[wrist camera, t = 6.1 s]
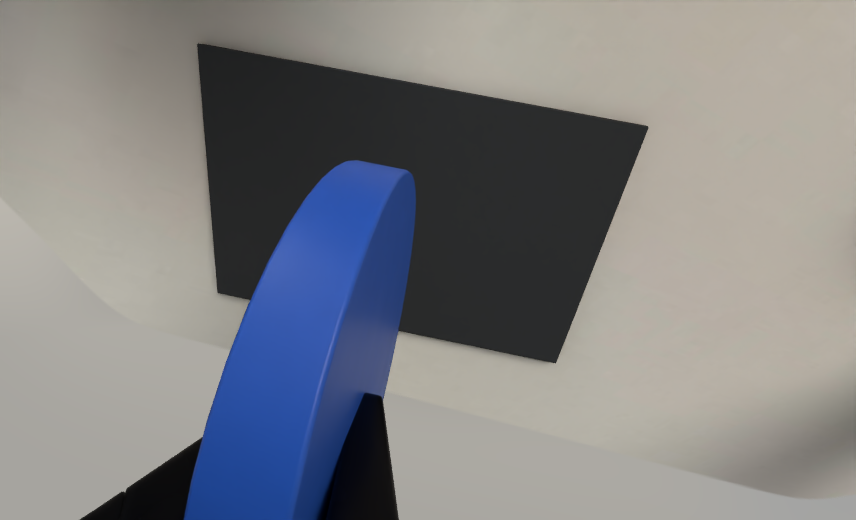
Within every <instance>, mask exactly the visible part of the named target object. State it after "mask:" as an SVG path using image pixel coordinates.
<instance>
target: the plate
mask: <svg viewBox="0 0 856 520" xmlns="http://www.w3.org/2000/svg"><path fill="white" fill-rule="evenodd" d="M415 211H416V190H415V183H414V178H413V176H412V174H411V173H410V172H409V171H407V170H404V169H399V168H394V167H389V166H384V165H379V164H374V163H369V162H364V161H359V160H354V161H346V162H344V163H342V164H340V165H338V166H336V167H334V168H333V169H332V170H331V171H330V172H328V173H327V174H326V175H325V176H324V177H323V178H322V179H321V180H320V181H319V182H318V183H317V185H316V186H315V187H314V188H313V189H312V191H311V192H310V193H309V194H308V195H307V197H306V198H305V200H304V201H303V203H302V204H301V206H300V207H299V209H298V210H297V212H296V213H295V215H294V216H293V218H292V219H291V221H290V222H289V224H288V226H287V227H286V229H285V231H284V233H283V235H282V237H281V239H280V240H279V242H278V244H277V246H276V248H275V250H274V252H273V253H272V255H271V257H270V259H269V261H268V263H267V265H266V267H265V269H264V272H263V274H262V276H261V278H260V280H259V283H258V285H257V287H256V289H255V291H254V293H253V296H252V298H251V300H250V302H249V304H248V307H247V309H246V312H245V314H244V317H243V319H242V322H241V325H240V327H239V330H238V332H237V335H236V338H235V340H234V343H233V345H232V348H231V350H230V353H229V356H228V359H227V361H226V364H225V367H224V371H223V373H222V376H221V380H220V382H219V385H218V388H217V392H216V395H215V398H214V401H213V404H212V407H211V410H210V413H209V416H208V420H207V423H206V427H205V431H204V435H203V438H202V442H201V446H200V450H199V453H198V457H197V461H196V465H195V469H194V472H193V476H192V480H191V485H190V490H189V495H188V500H187V505H186V510H185V515H184V520H326V518H327V513H328V509H329V504H330V500H331V495H332V491H333V486H334V482H335V478H336V473H337V469H338V464H339V460H340V455H341V451H342V447H343V444H344V441H345V439H346V436H347V434H348V431H349V429H350V426H351V424H352V422H353V419H354V417H355V414H356V412H357V410H358V407H359V405H360V402H361V400H362V398H363V395H364V393H371V394H376V395H380V396H381V397H382V399H383V398H384V394H385V390H386V385H387V381H388V376H389V372H390V367H391V363H392V358H393V353H394V349H395V344H396V339H397V334H398V329H399V324H400V319H401V313H402V308H403V302H404V297H405V291H406V285H407V279H408V273H409V266H410V259H411V252H412V244H413V235H414V225H415Z"/></svg>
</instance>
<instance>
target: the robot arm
mask: <svg viewBox="0 0 856 520" xmlns="http://www.w3.org/2000/svg"><path fill="white" fill-rule="evenodd" d="M202 438H203V437H202ZM202 438H201V439H199V440H197V441H196V442H194V443H193V444H192V445H190V446H189V447H187V448H186V449H184V450H183V451H181V452H180V453H179V454H177V455H175V456H174V457H172V458H171V459H170V460H168V461H167V462H165V463H163V464H162V465H161V466H159V467H158V468H156V469H155V470H153V471H152V472H150V473H149V474H147V475H146V476H144V477H143V478H141V479H140V480H138V481H137V482H135V483H134V484H133V485H131V486H130V487H128V488H127V489H126V492H121V493H119V494H118V495H116V496H115V497H113V498H112V499H110V500H109V501H107V502H106V503H104V504H103V505H101V506H100V507H98V508H97V509H95V510H94V511H92V512H91V513H89V514H88V515H86V516H85V517H83V518H81V519H80V520H184V515H185V510H186V505H187V500H188V495H189V490H190V485H191V480H192V476H193V472H194V469H195V465H196V461H197V457H198V453H199V450H200V446H201V442H202ZM326 520H399V518H398V511H397V504H396V495H395V488H394V480H393V473H392V466H391V458H390V451H389V444H388V436H387V428H386V421H385V413H384V407H383V399H382V397H381V396H380V395H376V394H371V393H364V395H363V398H362V400H361V402H360V405H359V407H358V410H357V412H356V414H355V417H354V419H353V422H352V424H351V426H350V429H349V431H348V434H347V436H346V439H345V441H344V444H343V447H342V451H341V455H340V460H339V464H338V469H337V473H336V478H335V482H334V486H333V491H332V495H331V500H330V504H329V509H328V513H327V518H326Z"/></svg>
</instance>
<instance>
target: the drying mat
mask: <svg viewBox="0 0 856 520" xmlns="http://www.w3.org/2000/svg"><path fill="white" fill-rule="evenodd" d="M197 47H198V59H199V72H200V84H201V96H202V108H203V120H204V132H205V144H206V157H207V169H208V181H209V193H210V205H211V217H212V230H213V242H214V254H215V266H216V278H217V290H218V293H220V294H225V295H230V296H235V297H239V298H244V299H249V300H251V298H252V296H253V293H254V291H255V289H256V287H257V285H258V283H259V280H260V278H261V276H262V274H263V272H264V269H265V267H266V265H267V263H268V261H269V259H270V257H271V255H272V253H273V252H274V250H275V248H276V246H277V244H278V242H279V240H280V239H281V237H282V235H283V233H284V231H285V229H286V227H287V226H288V224H289V222H290V221H291V219H292V218H293V216H294V215H295V213H296V212H297V210H298V209H299V207H300V206H301V204H302V203H303V201H304V200H305V198H306V197H307V195H308V194H309V193H310V192H311V191H312V189H313V188H314V187H315V186H316V185H317V183H318V182H319V181H320V180H321V179H322V178H323V177H324V176H325V175H326V174H327V173H328V172H330V171H331V170H332V169H333V168H334V167H336V166H338V165H340V164H342V163H344V162H346V161H354V160H359V161H364V162H369V163H374V164H379V165H384V166H389V167H394V168H399V169H404V170H407V171H409V172H410V173H411V174H412V176H413V178H414V183H415V190H416V211H415V225H414V235H413V244H412V252H411V259H410V266H409V273H408V279H407V285H406V291H405V297H404V302H403V308H402V313H401V319H400V324H399V329H398V331H403V332H408V333H412V334H417V335H422V336H427V337H432V338H437V339H441V340H446V341H451V342H456V343H461V344H465V345H470V346H475V347H480V348H485V349H489V350H494V351H499V352H504V353H509V354H513V355H518V356H523V357H528V358H533V359H537V360H542V361H547V362H552V363H556V362H557V359H558V357H559V354H560V351H561V349H562V346H563V344H564V341H565V339H566V336H567V334H568V331H569V329H570V326H571V323H572V321H573V318H574V316H575V313H576V311H577V308H578V306H579V303H580V301H581V298H582V295H583V293H584V290H585V288H586V285H587V283H588V280H589V278H590V275H591V273H592V270H593V267H594V265H595V262H596V260H597V257H598V255H599V252H600V250H601V247H602V245H603V242H604V239H605V237H606V234H607V232H608V229H609V227H610V224H611V222H612V219H613V216H614V214H615V211H616V209H617V206H618V204H619V201H620V199H621V196H622V194H623V191H624V188H625V186H626V183H627V181H628V178H629V176H630V173H631V171H632V168H633V166H634V163H635V160H636V158H637V155H638V153H639V150H640V148H641V145H642V143H643V140H644V138H645V135H646V132H647V130H648V126H644V125H639V124H634V123H628V122H623V121H617V120H612V119H607V118H601V117H596V116H590V115H585V114H579V113H574V112H569V111H563V110H558V109H552V108H547V107H542V106H536V105H531V104H525V103H520V102H514V101H509V100H504V99H498V98H493V97H487V96H482V95H477V94H471V93H466V92H460V91H455V90H449V89H444V88H439V87H433V86H428V85H422V84H417V83H411V82H406V81H401V80H395V79H390V78H384V77H379V76H374V75H368V74H363V73H357V72H352V71H346V70H341V69H336V68H330V67H325V66H319V65H314V64H309V63H303V62H298V61H292V60H287V59H281V58H276V57H271V56H265V55H260V54H254V53H249V52H244V51H238V50H233V49H227V48H222V47H216V46H211V45H206V44H199V43H198V44H197Z"/></svg>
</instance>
